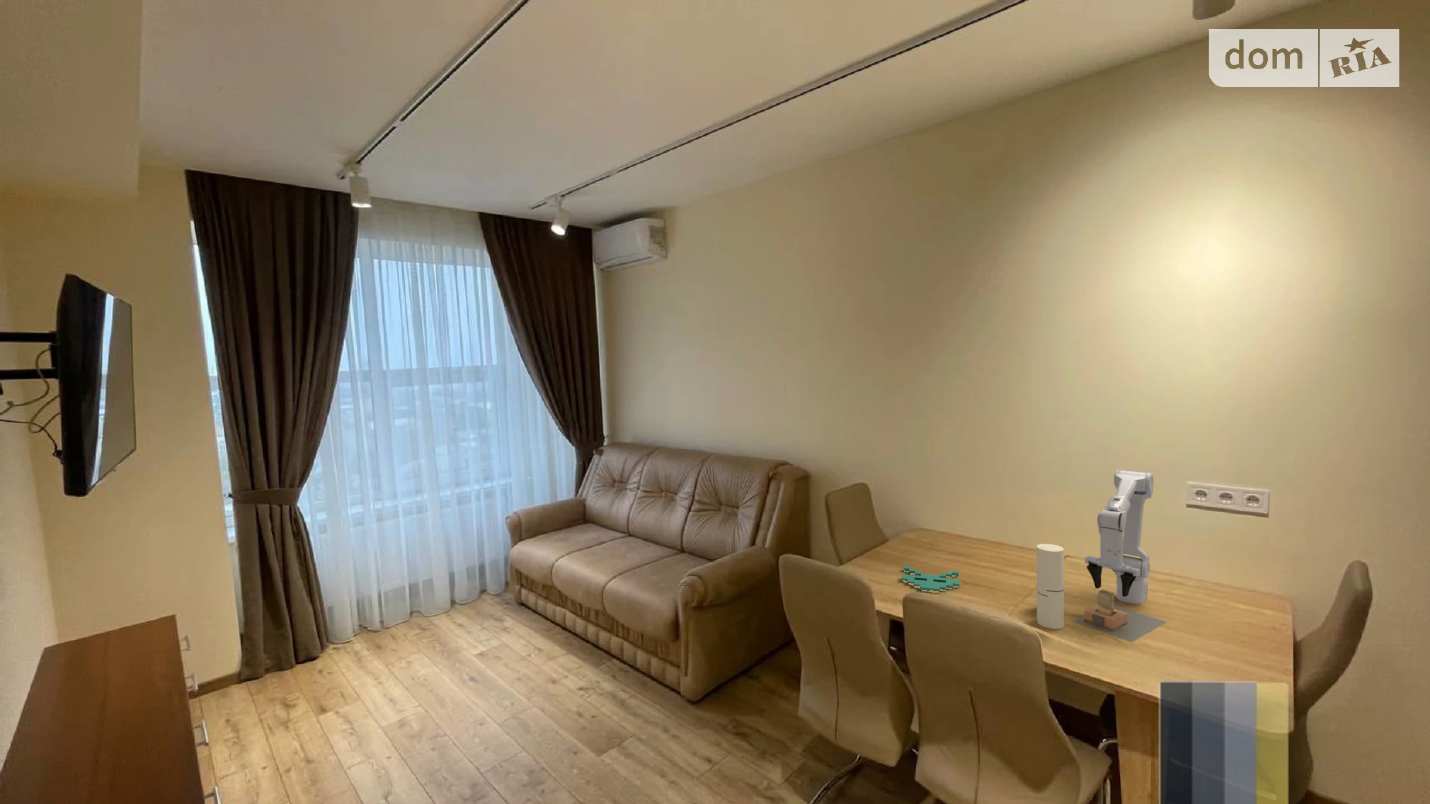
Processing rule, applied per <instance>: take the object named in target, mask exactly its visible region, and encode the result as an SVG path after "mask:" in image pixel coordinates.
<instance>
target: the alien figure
mask: <svg viewBox="0 0 1430 804" xmlns="http://www.w3.org/2000/svg"><path fill="white" fill-rule="evenodd" d="M904 570H905V571H909V573H915V575H909V573H907V574H906V573H905V574H902V575H901V581H902V580H905V581H908V583H913V584H914V586H920V589H919V591H920V590H927V591H930V590H933V591H939V592H941V591H940V589H942V590H946V587H947V588H952V589H953V590H954V588H953V586H958V587H959V588H960V579H957V578H953V577H952V575H956V576H959V575H960V574H959V570H951V571H946V572H945V573H939V575H938V574H926V573H922V571H919V570H918V571H916V569H915V568H911V567H910V566H907V565H903V571H904ZM946 576H950V577H952V579H949V578H946ZM908 583H907V584H908ZM914 586H913V587H914ZM946 591H947V590H946Z"/></svg>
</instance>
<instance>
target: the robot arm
mask: <svg viewBox="0 0 1430 804" xmlns="http://www.w3.org/2000/svg"><path fill="white" fill-rule="evenodd" d="M1113 484H1114V486H1115V489H1116V491H1115V492H1116V493H1115V494H1114V495H1112V496H1110V497H1109V499H1108V501H1107V503H1106V505H1105V507H1104V509H1102V511H1101V510H1099V511H1098V513H1097V518H1096V519H1097V520H1096V522H1097V527H1098V534H1099V538H1100V541H1099V542H1100V546H1099V547H1100V548H1099V549H1100V552H1099V553H1100V555H1099V556H1100V557H1097V556H1096V557H1095V556H1090V555H1087V556H1085V557H1084V563H1085V564H1088V565H1087V566H1086V569H1087V571H1088V572H1089V574H1090V575H1091V579H1092V581H1093V584H1094V588H1095V589H1099V588H1101V587H1102V572H1103V568H1104V569H1109V570H1111V571H1112V572H1113V573H1114V575H1115V576H1116V599H1118V601H1121V602H1124V603H1127V604H1133V605H1135V604H1136V605H1139V604H1143V603H1144V601H1146V600H1147V599H1148V597H1149V594H1148V593H1149V590H1148V589H1149V588H1148V587H1149V585H1148V584H1149V582H1148V580H1147V578H1148V577H1149V575H1150V570H1151V565H1150V556H1149V554H1147V553H1146V552H1145V551H1144V550H1143V549H1142V548H1141V540H1142V539H1141V537H1142V529H1143V517H1144V506H1145V502H1146V500H1148V499H1151V498H1152V496H1153V492H1154V475H1153V474H1152V473H1151V472H1142V471H1141V472H1140V471H1131V470H1130V471H1129V470H1122V469H1117V470H1116V471H1115V473H1114V475H1113Z"/></svg>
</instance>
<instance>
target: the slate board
mask: <svg viewBox="0 0 1430 804" xmlns="http://www.w3.org/2000/svg"><path fill="white" fill-rule="evenodd" d="M1114 609H1117V610H1119V611H1122V612H1125V613H1128V617H1127V624H1126V625H1125V626H1123V627H1121V628H1119V629H1117V630H1115V631H1112V630H1109V629H1106V628H1103V627H1100V626H1097V625H1095V624H1092V623H1089V622H1086V621H1084V615H1083V616H1080V617H1077V618H1076V619H1074V620H1073V622H1075V623H1077V624H1080V625H1083V626H1085V627H1088V628H1091V629H1093V630H1096V631H1099V632H1102V633H1105V634H1107V635H1110V636H1113V637H1116V638H1119V639H1121V640H1125V641H1127V642H1130V643H1133V642H1135V641H1136V640H1138V639H1140V638H1142V637H1143V636H1145V635H1147V634H1149V633H1150V632H1152V631H1154V630H1155V629H1157V628H1159V627H1161V626H1163V625H1164V624H1166V623H1167V621H1165V620H1163V619H1159V618H1156V617H1154V616H1153V617H1152V616H1150V615H1147V614H1144V613H1140V612H1137V611H1134V610H1131V609H1127V608H1124V607H1122V606H1117V605H1115V604H1114Z"/></svg>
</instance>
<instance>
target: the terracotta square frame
mask: <svg viewBox="0 0 1430 804" xmlns="http://www.w3.org/2000/svg"><path fill="white" fill-rule="evenodd" d="M1083 613H1084V615H1083V616H1084V621H1086V622H1089V623H1092V624H1095V625H1097V626H1100V627H1103V628H1106V629H1109V630H1112V631H1115V630H1117V629H1119V628H1121V627H1123V626H1125V625H1126V624H1127V617H1128V613H1125V612H1122V611H1119V610H1117V609H1114V615H1112V616H1108V615H1105V614H1102V613H1098V603H1097V604H1094V605H1093V606H1090V607H1088V608H1087V609H1084V611H1083Z"/></svg>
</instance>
